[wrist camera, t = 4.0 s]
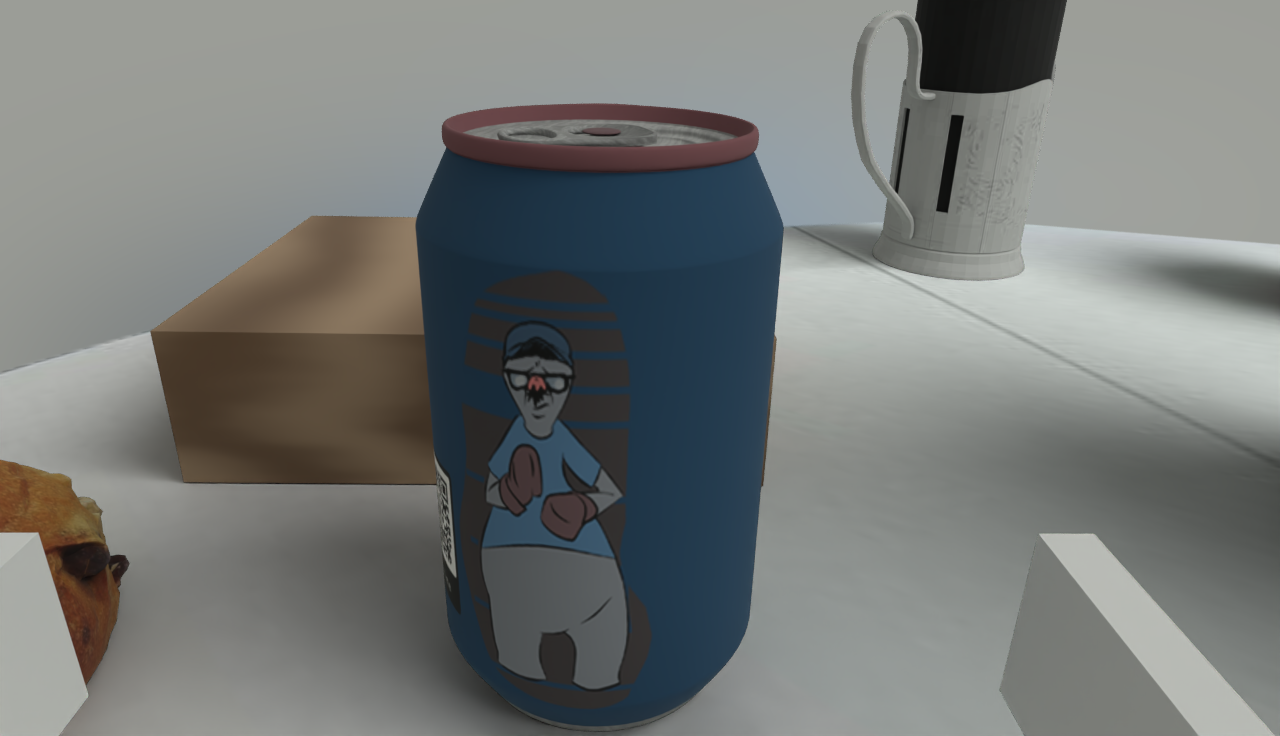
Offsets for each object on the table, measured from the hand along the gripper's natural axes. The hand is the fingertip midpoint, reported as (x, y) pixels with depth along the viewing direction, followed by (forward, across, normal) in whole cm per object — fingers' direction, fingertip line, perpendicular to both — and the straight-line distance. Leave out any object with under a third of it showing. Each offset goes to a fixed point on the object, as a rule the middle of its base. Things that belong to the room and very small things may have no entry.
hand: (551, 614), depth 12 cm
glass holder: (+39, +19, -7) cm, 43 cm away
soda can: (+7, +1, -7) cm, 9 cm away
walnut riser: (+21, -3, -6) cm, 22 cm away
